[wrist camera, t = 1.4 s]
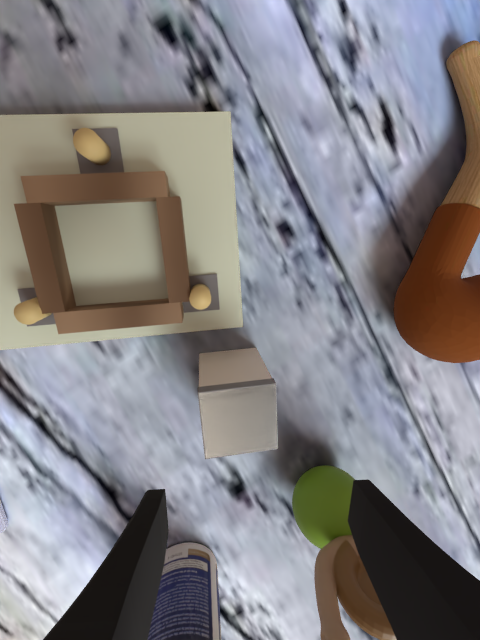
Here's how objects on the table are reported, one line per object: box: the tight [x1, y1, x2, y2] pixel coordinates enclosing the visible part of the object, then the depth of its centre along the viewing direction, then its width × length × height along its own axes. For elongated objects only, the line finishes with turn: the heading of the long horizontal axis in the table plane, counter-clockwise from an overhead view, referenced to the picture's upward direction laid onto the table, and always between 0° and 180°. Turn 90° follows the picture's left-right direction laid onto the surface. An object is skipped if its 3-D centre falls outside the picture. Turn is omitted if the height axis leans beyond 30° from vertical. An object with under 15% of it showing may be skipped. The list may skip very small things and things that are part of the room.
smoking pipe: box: [394, 41, 480, 363], centre depth 17 cm, size 7×18×6 cm, turn 8°
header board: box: [0, 112, 243, 350], centre depth 16 cm, size 18×12×3 cm, turn 93°
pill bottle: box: [148, 542, 221, 640], centre depth 21 cm, size 5×5×10 cm
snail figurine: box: [292, 465, 397, 640], centre depth 19 cm, size 5×6×12 cm
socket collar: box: [14, 171, 191, 334], centre depth 16 cm, size 8×8×2 cm
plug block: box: [198, 348, 278, 459], centre depth 19 cm, size 4×4×6 cm
